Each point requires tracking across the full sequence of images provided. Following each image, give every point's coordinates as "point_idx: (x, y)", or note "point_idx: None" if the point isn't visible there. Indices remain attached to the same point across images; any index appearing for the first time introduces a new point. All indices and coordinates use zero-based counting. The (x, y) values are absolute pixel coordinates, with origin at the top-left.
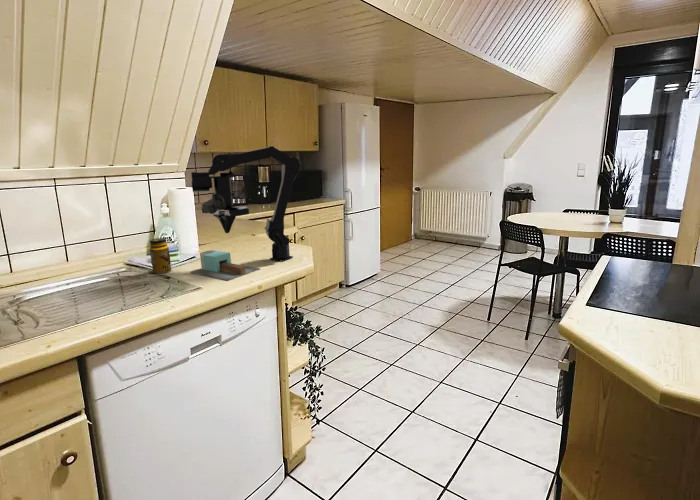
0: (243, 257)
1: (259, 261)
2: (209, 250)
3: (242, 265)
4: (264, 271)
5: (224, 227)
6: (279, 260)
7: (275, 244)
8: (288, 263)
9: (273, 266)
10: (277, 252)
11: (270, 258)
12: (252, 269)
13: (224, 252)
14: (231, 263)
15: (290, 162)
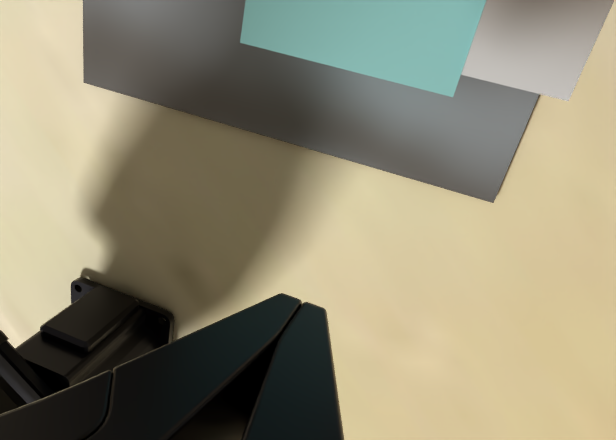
0: (396, 362)
1: (215, 269)
2: (586, 23)
3: (250, 127)
4: (29, 36)
5: (268, 367)
6: (94, 284)
7: (45, 378)
8: (28, 244)
9: (58, 167)
10: (59, 313)
11: (162, 313)
12: (109, 37)
13: (314, 31)
14: (379, 166)
15: None
